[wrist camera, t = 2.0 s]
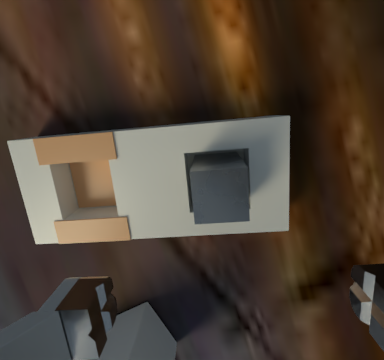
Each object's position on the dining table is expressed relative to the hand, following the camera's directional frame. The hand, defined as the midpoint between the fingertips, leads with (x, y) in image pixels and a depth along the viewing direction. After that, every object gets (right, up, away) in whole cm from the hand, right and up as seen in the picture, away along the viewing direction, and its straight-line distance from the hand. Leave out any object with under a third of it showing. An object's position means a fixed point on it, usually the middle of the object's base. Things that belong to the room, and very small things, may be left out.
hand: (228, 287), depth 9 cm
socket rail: (-5, +4, +17) cm, 18 cm away
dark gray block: (+1, +4, +16) cm, 17 cm away
